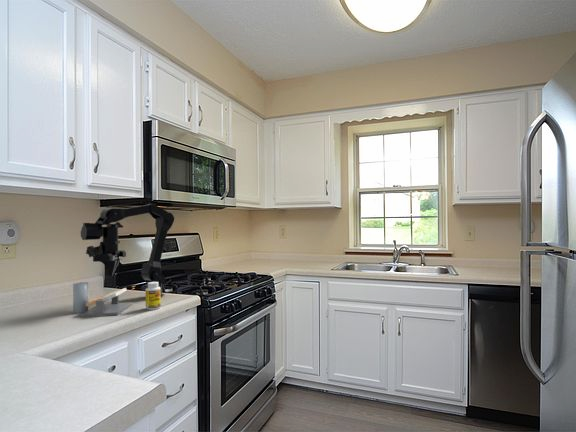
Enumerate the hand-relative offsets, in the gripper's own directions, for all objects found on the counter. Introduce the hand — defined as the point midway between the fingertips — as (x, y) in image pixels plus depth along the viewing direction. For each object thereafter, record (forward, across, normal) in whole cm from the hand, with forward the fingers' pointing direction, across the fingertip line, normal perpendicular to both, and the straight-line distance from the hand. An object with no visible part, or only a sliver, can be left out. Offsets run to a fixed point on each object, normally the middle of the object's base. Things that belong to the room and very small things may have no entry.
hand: (110, 276), depth 139 cm
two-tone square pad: (+8, +8, +2) cm, 11 cm away
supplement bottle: (+12, +8, +19) cm, 24 cm away
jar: (+12, +8, -8) cm, 16 cm away
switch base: (+12, +8, +2) cm, 15 cm away
